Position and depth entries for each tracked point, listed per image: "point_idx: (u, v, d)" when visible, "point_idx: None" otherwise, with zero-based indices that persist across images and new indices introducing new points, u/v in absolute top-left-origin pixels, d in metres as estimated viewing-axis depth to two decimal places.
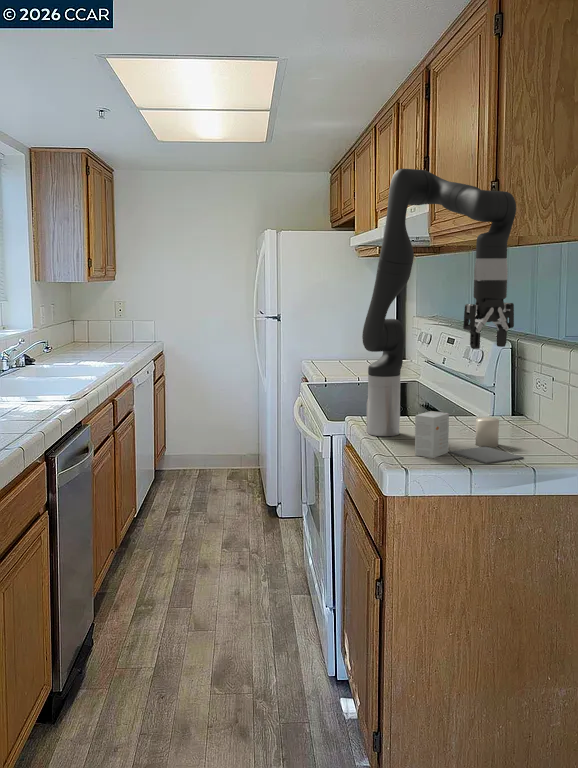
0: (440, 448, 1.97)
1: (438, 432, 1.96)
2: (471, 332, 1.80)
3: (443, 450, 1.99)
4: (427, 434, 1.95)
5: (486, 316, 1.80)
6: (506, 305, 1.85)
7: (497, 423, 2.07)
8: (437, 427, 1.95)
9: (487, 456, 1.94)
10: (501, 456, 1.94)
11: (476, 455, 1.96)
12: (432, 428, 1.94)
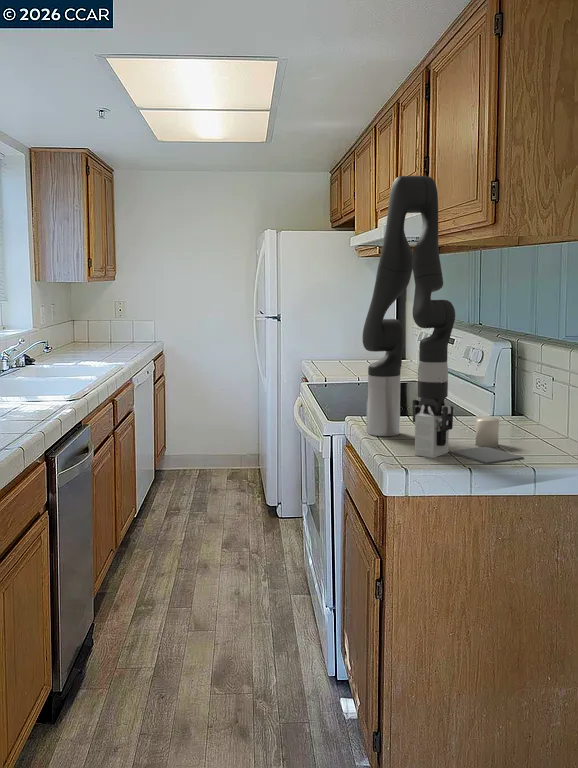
0: (440, 448, 1.97)
1: None
2: (443, 431, 1.94)
3: (444, 450, 1.99)
4: (427, 434, 1.95)
5: None
6: None
7: (497, 423, 2.07)
8: None
9: (487, 456, 1.94)
10: (501, 456, 1.94)
11: (476, 455, 1.96)
12: (432, 428, 1.94)
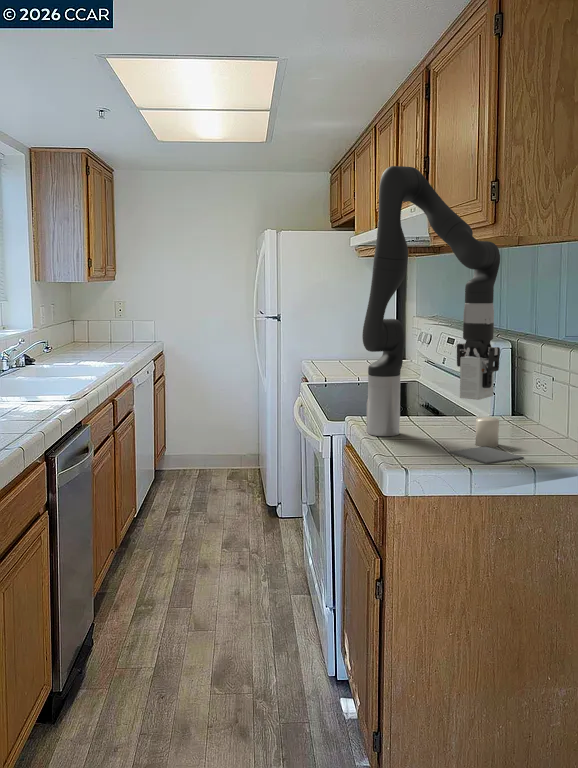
0: (485, 390, 1.96)
1: None
2: (489, 373, 1.94)
3: (489, 393, 1.98)
4: (472, 375, 1.95)
5: None
6: None
7: (497, 423, 2.07)
8: None
9: (487, 456, 1.94)
10: (501, 456, 1.94)
11: (476, 455, 1.96)
12: (478, 369, 1.93)
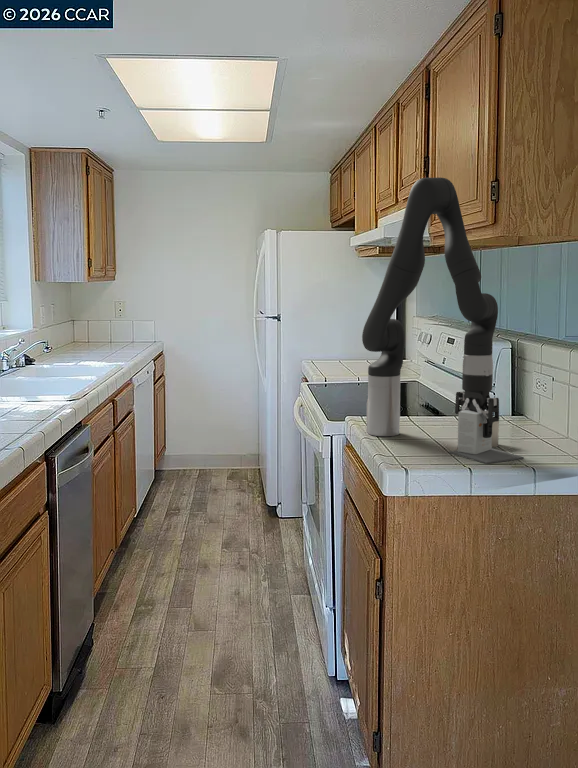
0: (482, 444, 1.99)
1: (481, 429, 1.97)
2: (490, 423, 1.95)
3: (487, 447, 2.00)
4: (470, 430, 1.97)
5: None
6: None
7: (497, 423, 2.07)
8: (480, 424, 1.97)
9: (487, 456, 1.94)
10: (501, 456, 1.94)
11: (476, 455, 1.96)
12: (475, 425, 1.96)
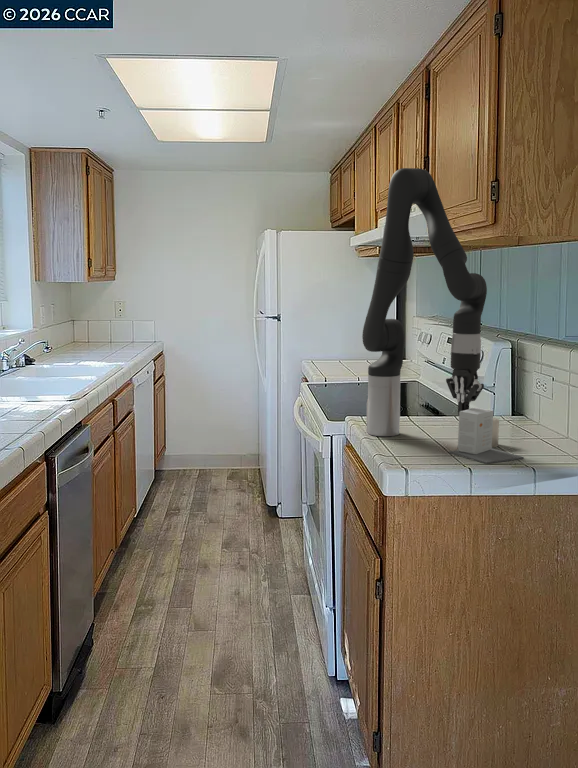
0: (483, 444, 1.98)
1: (481, 429, 1.97)
2: (467, 402, 2.02)
3: (487, 447, 2.00)
4: (470, 430, 1.97)
5: None
6: None
7: (497, 423, 2.07)
8: (481, 424, 1.97)
9: (487, 456, 1.94)
10: (501, 456, 1.94)
11: (476, 455, 1.96)
12: (475, 425, 1.96)
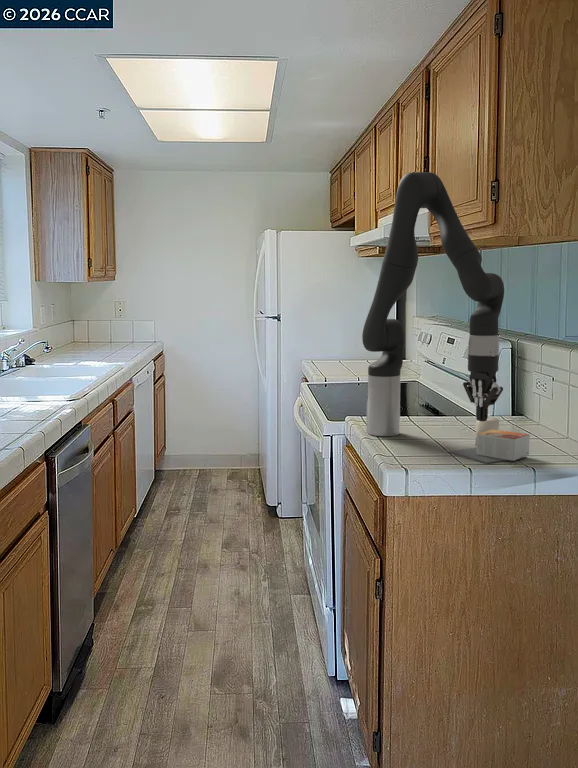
0: None
1: None
2: (485, 406, 1.96)
3: None
4: (497, 451, 1.92)
5: None
6: None
7: (497, 423, 2.07)
8: None
9: None
10: None
11: (476, 455, 1.96)
12: (503, 457, 1.91)
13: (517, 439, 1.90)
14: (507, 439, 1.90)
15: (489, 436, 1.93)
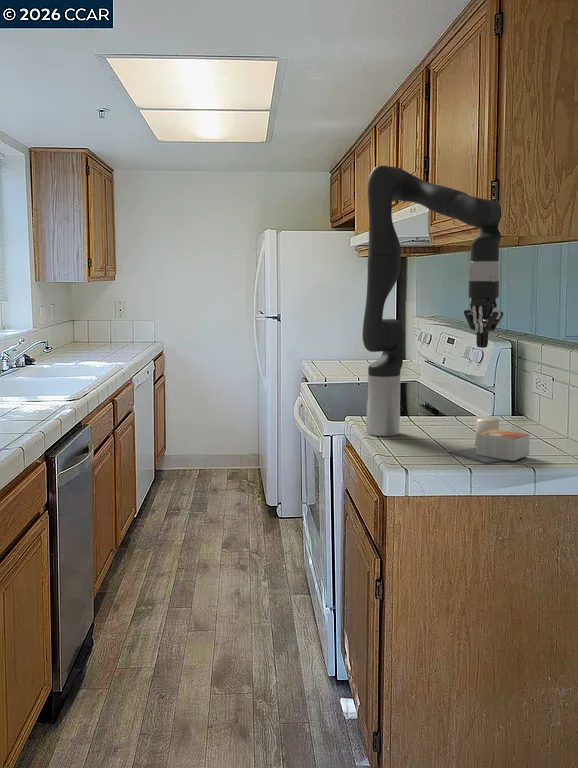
0: None
1: None
2: (485, 332, 1.98)
3: None
4: (497, 451, 1.92)
5: None
6: None
7: (497, 423, 2.07)
8: None
9: None
10: None
11: (476, 455, 1.96)
12: (503, 457, 1.91)
13: (517, 439, 1.90)
14: (507, 439, 1.90)
15: (489, 436, 1.93)
